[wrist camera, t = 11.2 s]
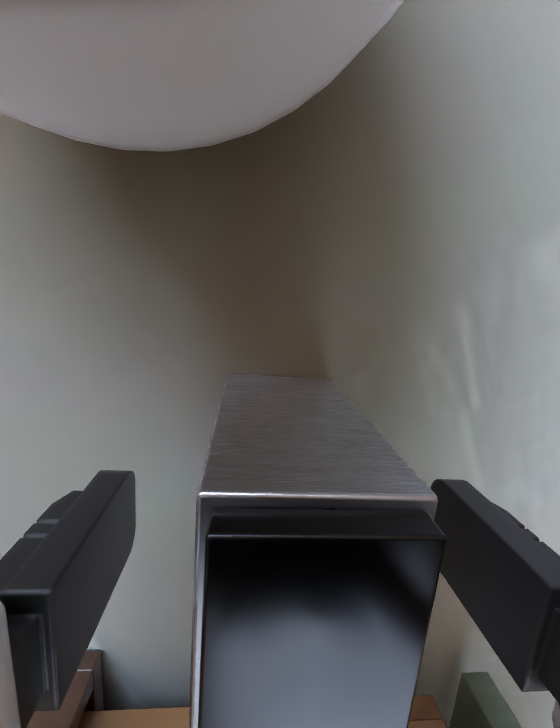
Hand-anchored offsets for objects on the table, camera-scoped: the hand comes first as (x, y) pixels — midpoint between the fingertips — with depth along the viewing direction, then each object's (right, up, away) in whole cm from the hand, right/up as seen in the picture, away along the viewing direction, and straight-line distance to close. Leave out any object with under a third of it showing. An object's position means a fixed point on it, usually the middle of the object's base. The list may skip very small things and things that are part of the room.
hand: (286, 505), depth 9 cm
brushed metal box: (0, +1, +3) cm, 3 cm away
